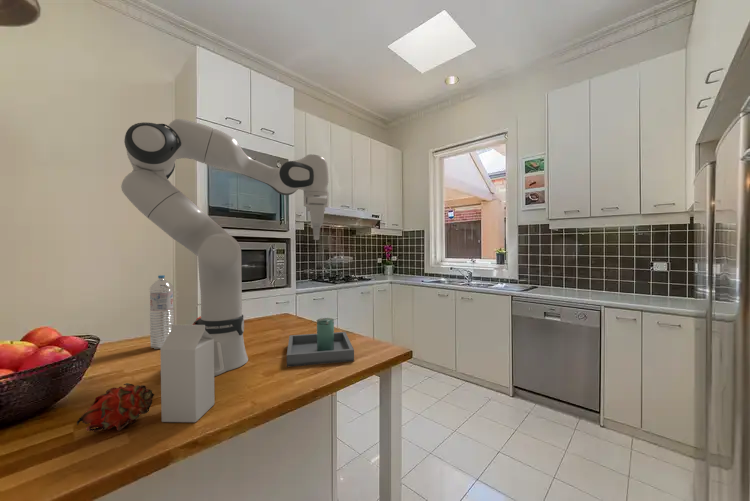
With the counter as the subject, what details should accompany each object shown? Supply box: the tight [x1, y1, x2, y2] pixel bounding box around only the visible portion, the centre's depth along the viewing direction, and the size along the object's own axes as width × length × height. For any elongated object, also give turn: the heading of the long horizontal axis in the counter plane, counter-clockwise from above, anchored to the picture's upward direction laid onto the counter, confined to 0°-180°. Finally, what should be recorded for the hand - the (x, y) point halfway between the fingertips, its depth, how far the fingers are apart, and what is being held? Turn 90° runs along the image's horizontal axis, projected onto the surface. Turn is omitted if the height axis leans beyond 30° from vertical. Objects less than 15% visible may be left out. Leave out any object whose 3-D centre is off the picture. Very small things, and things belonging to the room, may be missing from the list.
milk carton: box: [159, 324, 216, 423], centre depth 66 cm, size 7×7×19 cm
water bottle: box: [149, 274, 175, 350], centre depth 109 cm, size 7×7×25 cm
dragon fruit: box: [76, 382, 156, 433], centre depth 62 cm, size 8×8×12 cm
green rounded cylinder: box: [316, 317, 335, 351], centre depth 103 cm, size 6×6×10 cm
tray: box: [286, 331, 355, 368], centre depth 103 cm, size 20×20×4 cm
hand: (316, 240), depth 112 cm, fingers open, 8 cm apart
